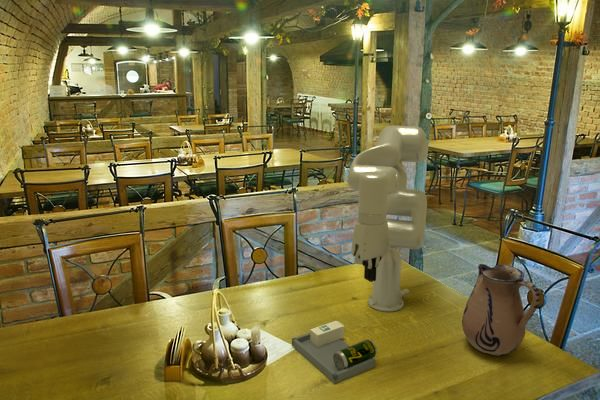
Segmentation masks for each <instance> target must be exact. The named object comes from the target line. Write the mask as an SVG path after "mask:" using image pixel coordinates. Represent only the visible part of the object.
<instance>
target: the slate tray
mask: <svg viewBox="0 0 600 400" xmlns="http://www.w3.org/2000/svg"><path fill="white" fill-rule="evenodd" d="M291 346H292V347H293V348H294V349H295V350H296V351H297V352H299V353H300V354H301V355H302V356H303V357H304V358H305V359H307V361H309V362H310V363H311V364H312V365H313V366H314V367H315V368H317V370H319V371H320V372H321V373H322V374H323V375H324V376H326V378H328V379H329V380H330V381H331V382H332V383H333V384H337V383H340V382H342V381H344V380H345V381H346V380H348V379H349V378H352V377H353V376H356V375H359V374H361V373H363V372H365V371H368V370H371V369H372V368H375V366H376V359H375V357H374V358H371V359H368V360H366V361H363V362H361V363H358V364H356V365H354V366H351V367H349V368H346V369H344V370H339V369H338V368H337V367H336V366H335V363H334V360H333V356H334V354H335V353H336V352H337V351H339V350H342V349H344V348H347V347H349V346H350V345H349V343H347V342H345V341H344V340H343V339H342V338H341V339H339V340H336V341H333V342H330V343H328V344H325V345H322V346H319V347H317V346H315V345H314V344H313V343H312V342H311V341H310V332H306V333H305V334H301V335H300V336H296V337H293V338H291Z"/></svg>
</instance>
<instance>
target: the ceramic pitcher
mask: <svg viewBox="0 0 600 400" xmlns="http://www.w3.org/2000/svg"><path fill="white" fill-rule="evenodd" d="M477 267H478V275H477V279H476V281H475V284H474V286H473V288H472V291H471V294H470V295H469V297H468V300H467V302H466V304H465V307H464V310H463V314H462V319H461V325H462V330H463V333H464V336H465V338H466V339H467V341H468V342H469V343H470V345H471V346H472V347H474V349H476V350H477V351H479V352H482V353H485V354H489V355H493V356H497V357H499V356H504V355H507V354H509V353H512V352H514V351H515V350H516V349H518V348H519V346H520V345H521V343H523V340H524V338H525V335H526V328H527V327H526V325H527V324H528V322H529V321H530V320H531V318H532V317H533V316H534V314H535V312H536V311H537V310H538V307H539V304H540V298H541V295H540V290H539V289H538V287H537V286H536V285H535V284H534V283H533V282H531V281H528V280H525V273H524V272H523V270H520V269H519V268H517V267H515V266H511V265H508V264H496V265H494V266H492V267H491V266H488V265H487V264H483V263H479V264H478V265H477ZM521 287H526V288H527V289H528V290H530V292H531V296H532V299H531V303H530V306H529V308H528V310H527V311H526V313H525V311H524V306H523V302H522V301H523V300H522V298H521V297H522V296H521V293H520V288H521Z"/></svg>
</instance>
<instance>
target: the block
mask: <svg viewBox="0 0 600 400" xmlns="http://www.w3.org/2000/svg"><path fill="white" fill-rule="evenodd" d="M309 333H310V341H311V342H312V343H313V344H314V345H315V346H317V347H319V346H322V345H325V344H328V343H330V342H333V341H336V340H339V339H341V340H342V339H344V338H345V325H344V324H343V323H341V322H339V321H338V320H334V321H330V322H327V323H326V324H322V325H319V326H316V327H314V328H311V329H309Z"/></svg>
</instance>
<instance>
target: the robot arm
mask: <svg viewBox="0 0 600 400" xmlns="http://www.w3.org/2000/svg"><path fill="white" fill-rule="evenodd" d="M428 152H429V146H428V139H427V135H426V133H425V131H424V129H423V128H421V127H420V126H417V125H388V126H385V127H384V128H383V129H381V131H380V132H379V135H378V138H377V140H376V143H375V145H374V146H373V147H371V148H370V147H369V148H368V149H366V150H364V151H362V152H360V153H358V154H357V155H355V157H354V158H353V160H352V162H351V165H350V167H349V169H348V172H347V178H346V179H347V185H348V187H349V188H350V189H351V191H355V192H358V214H357V217H358V218H357V222H356V221H355V224H354V228H353V233H352V240H351V255H352V257H354V261H353V262H354V263H355V264H356V265H362V266H363V268H364V269H363V270H364V271H363V276H364V277H363V278H364V280H366V281H368V282H370V283H372V294H371V295H370V296H369V297H368V298H367V305H368V306H370V307H371V308H372V309H375V310H377V311H380V312H397V311H399V310H401V309H402V308H403V307H404V305H405V304H404V299H402V298H403V296H406V295H409V294H410V291H409V289H408V288H405V289H403V290H402V289H401V276H402V275H401V271H402V257H401V254H400V252H399V250H398V248H399V249H407V250H419V249H421V248H422V247H423V245H424V242H425V235H426V223H427V222H426V221H427V211H428V210H427V208H428V199H427V195H426V193H425V192H424V191H422V190H419V189H411V188H410V189H409V188H407V184H408V183H407V182H408V181H407V180H408V174H407V172H406V170H405V168H403V166H402V164H401V163H400V162H404V163H405V162H406V163H422V162H424V161H425V160H426V159H427V156H428ZM387 216H395V217H405V218H410V219H411V220H405V219H397V218H396V219H395V218H387Z"/></svg>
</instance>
